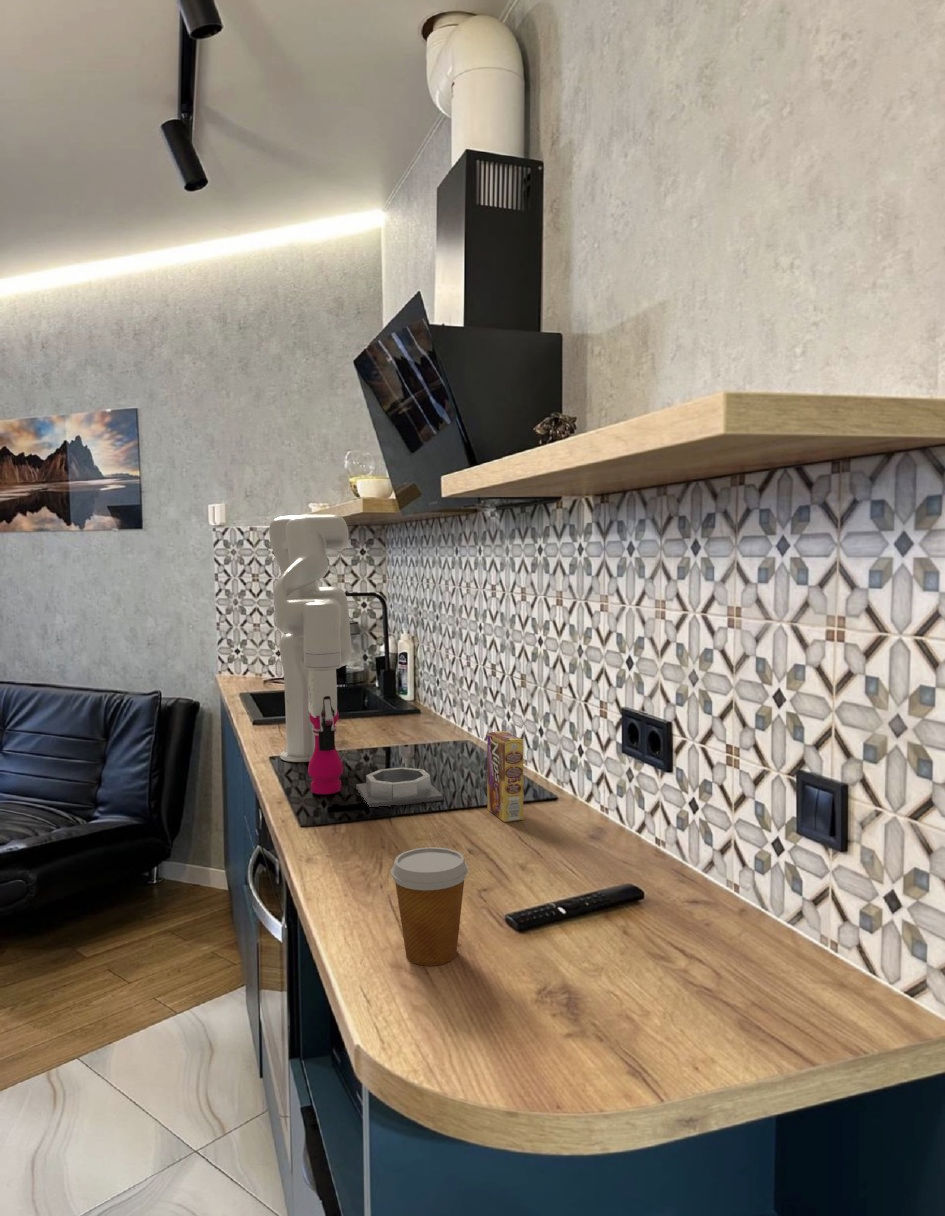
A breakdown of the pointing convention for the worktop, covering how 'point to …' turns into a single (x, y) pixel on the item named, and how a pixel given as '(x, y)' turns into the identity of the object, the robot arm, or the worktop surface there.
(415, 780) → the collar stand
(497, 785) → the candy box
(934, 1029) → the worktop surface
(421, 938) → the disposable coffee cup
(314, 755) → the pepper mill
